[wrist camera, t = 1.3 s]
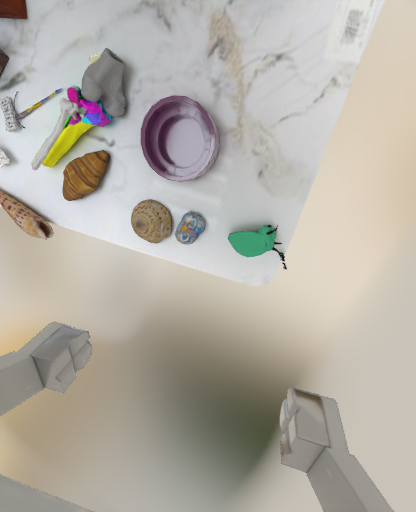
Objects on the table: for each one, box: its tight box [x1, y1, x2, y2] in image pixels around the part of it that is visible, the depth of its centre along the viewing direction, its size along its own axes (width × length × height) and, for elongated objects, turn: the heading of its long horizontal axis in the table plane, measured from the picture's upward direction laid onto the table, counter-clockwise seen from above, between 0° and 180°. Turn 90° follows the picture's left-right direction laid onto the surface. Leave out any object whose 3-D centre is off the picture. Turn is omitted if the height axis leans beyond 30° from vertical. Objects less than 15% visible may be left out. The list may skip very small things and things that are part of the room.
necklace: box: [0, 93, 25, 132], centre depth 47 cm, size 7×1×5 cm
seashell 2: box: [131, 200, 171, 243], centre depth 49 cm, size 8×6×8 cm
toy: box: [228, 225, 287, 270], centre depth 47 cm, size 13×5×10 cm
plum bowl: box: [141, 96, 219, 181], centre depth 41 cm, size 12×12×5 cm
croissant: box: [63, 150, 110, 201], centre depth 47 cm, size 14×7×5 cm, turn 130°
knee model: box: [31, 48, 126, 170], centre depth 43 cm, size 9×8×25 cm
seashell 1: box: [0, 191, 53, 240], centre depth 53 cm, size 4×18×5 cm
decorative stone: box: [175, 212, 205, 244], centre depth 48 cm, size 6×4×5 cm
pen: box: [16, 88, 62, 120], centre depth 46 cm, size 14×1×1 cm, turn 112°
